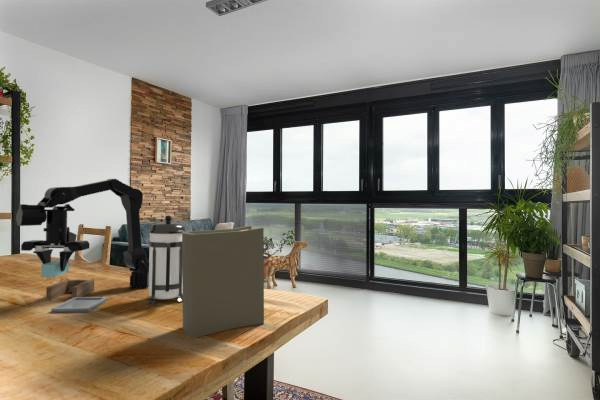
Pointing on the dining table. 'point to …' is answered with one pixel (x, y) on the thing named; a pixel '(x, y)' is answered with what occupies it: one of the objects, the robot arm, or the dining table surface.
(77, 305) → the tray
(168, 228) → the coffee press
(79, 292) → the bay
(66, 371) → the dining table surface
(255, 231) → the book
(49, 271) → the block
